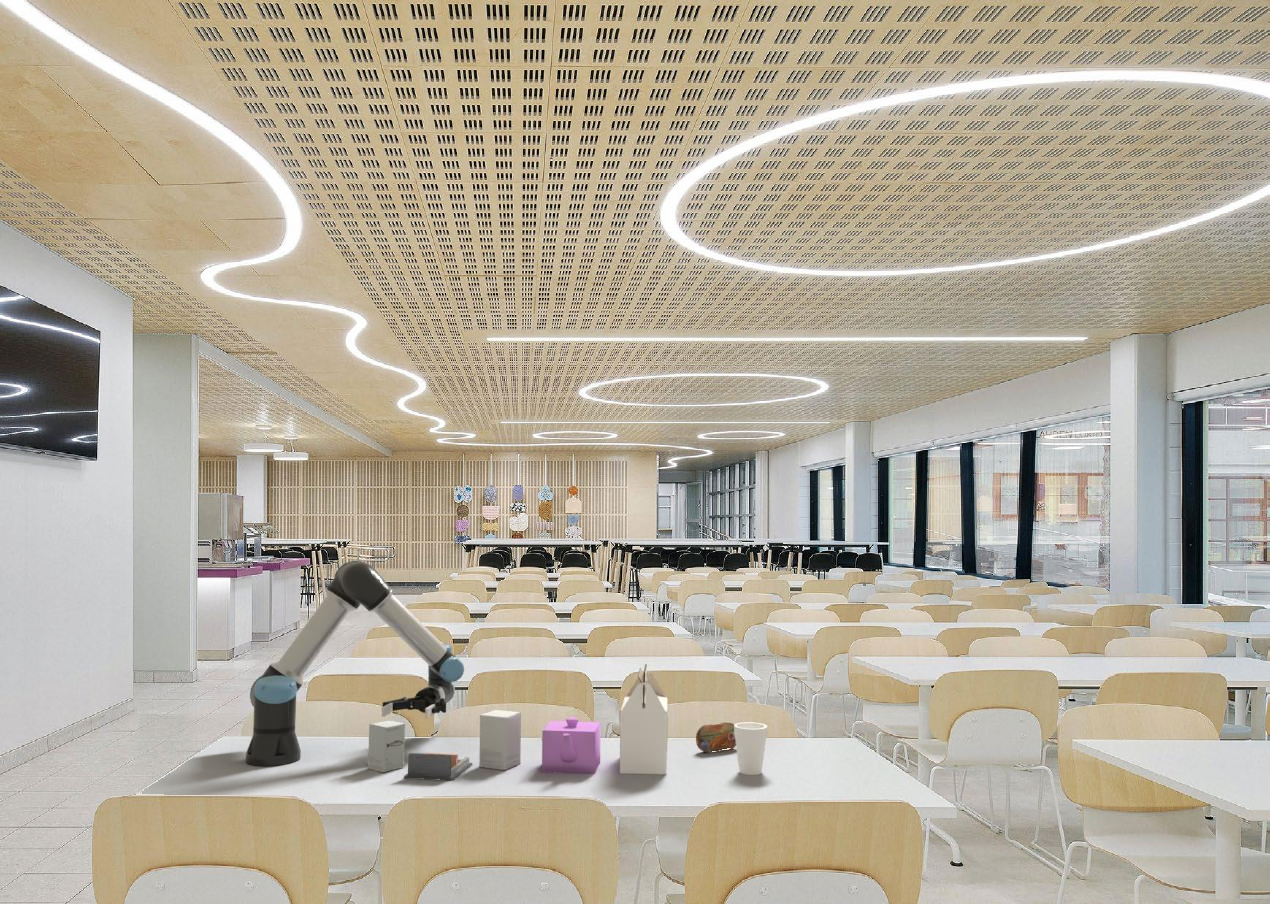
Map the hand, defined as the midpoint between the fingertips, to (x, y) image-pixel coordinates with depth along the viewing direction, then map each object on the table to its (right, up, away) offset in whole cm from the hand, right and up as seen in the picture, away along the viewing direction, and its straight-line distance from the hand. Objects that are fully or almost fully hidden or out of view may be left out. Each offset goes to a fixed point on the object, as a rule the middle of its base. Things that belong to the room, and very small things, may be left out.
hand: (404, 712), depth 291 cm
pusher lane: (+13, -13, -15) cm, 24 cm away
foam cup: (+102, -14, -13) cm, 103 cm away
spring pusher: (+14, -12, -14) cm, 23 cm away
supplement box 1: (-2, -13, -12) cm, 18 cm away
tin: (+94, -15, +13) cm, 96 cm away
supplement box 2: (+30, -13, -8) cm, 33 cm away
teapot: (+50, -14, -10) cm, 53 cm away
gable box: (+71, -14, -5) cm, 73 cm away
